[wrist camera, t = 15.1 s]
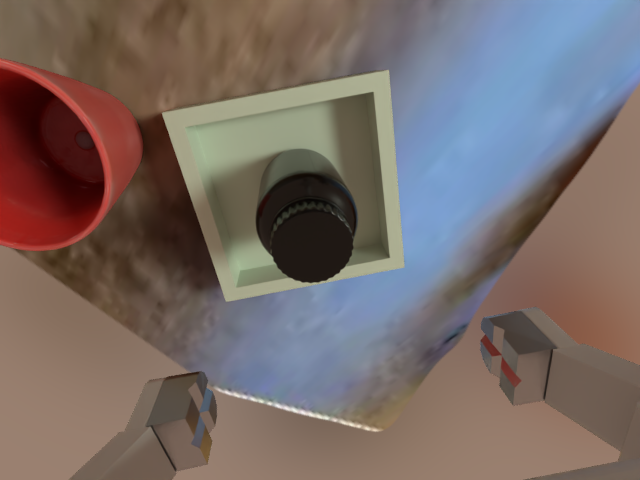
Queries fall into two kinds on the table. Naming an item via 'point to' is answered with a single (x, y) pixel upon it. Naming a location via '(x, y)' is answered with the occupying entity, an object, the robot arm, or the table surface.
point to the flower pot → (59, 157)
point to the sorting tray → (268, 142)
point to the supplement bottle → (306, 216)
